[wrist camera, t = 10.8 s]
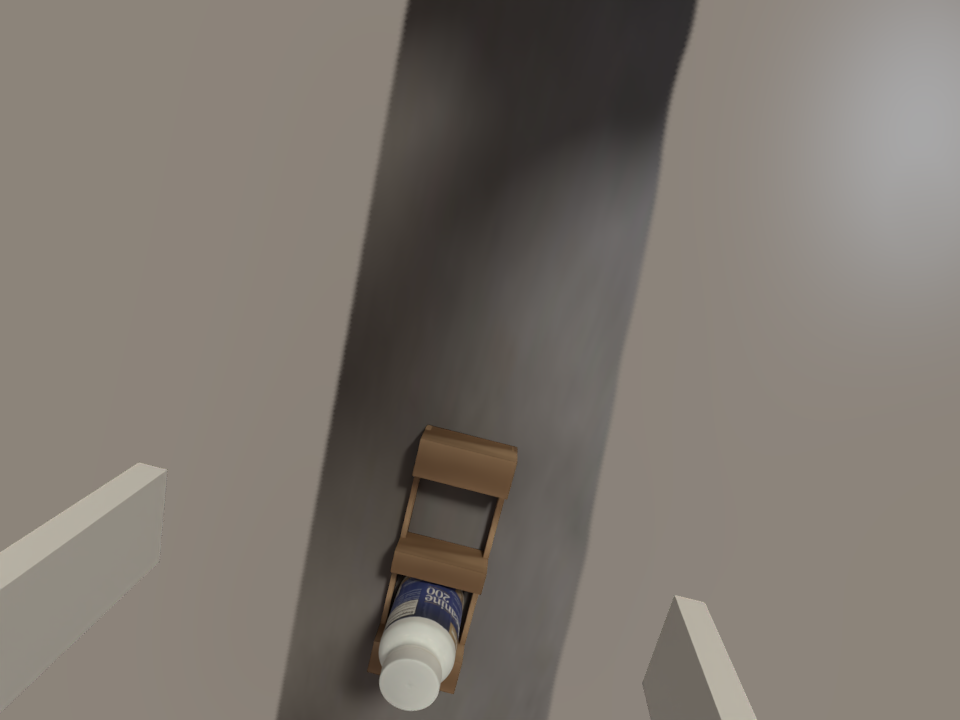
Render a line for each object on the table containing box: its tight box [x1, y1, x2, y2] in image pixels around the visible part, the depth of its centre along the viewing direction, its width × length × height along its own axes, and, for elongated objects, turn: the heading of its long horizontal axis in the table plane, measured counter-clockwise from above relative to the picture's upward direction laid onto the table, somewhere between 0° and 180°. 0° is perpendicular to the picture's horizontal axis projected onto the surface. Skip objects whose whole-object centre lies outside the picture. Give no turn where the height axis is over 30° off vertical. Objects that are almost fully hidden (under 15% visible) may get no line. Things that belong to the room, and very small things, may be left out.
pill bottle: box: [379, 576, 464, 711], centre depth 43 cm, size 5×5×10 cm
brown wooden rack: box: [367, 425, 517, 694], centre depth 45 cm, size 20×7×3 cm, turn 166°
